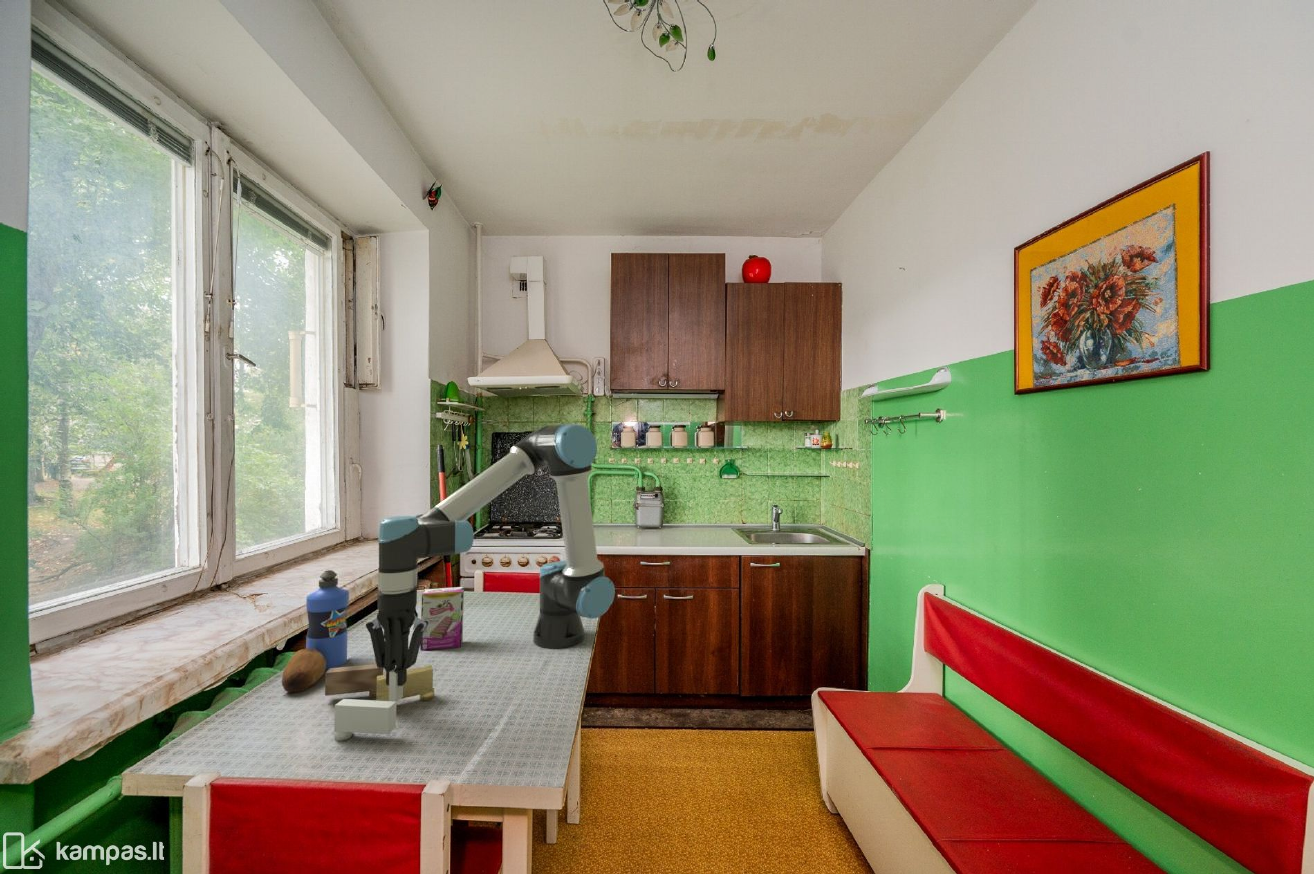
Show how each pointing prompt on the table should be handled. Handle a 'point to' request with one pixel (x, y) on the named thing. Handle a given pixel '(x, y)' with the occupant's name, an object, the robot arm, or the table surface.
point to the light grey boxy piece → (363, 717)
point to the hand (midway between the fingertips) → (395, 699)
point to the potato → (303, 670)
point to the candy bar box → (442, 618)
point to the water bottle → (328, 620)
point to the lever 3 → (410, 685)
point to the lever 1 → (352, 680)
